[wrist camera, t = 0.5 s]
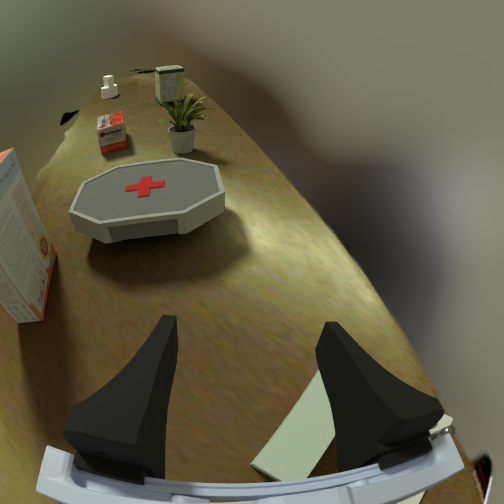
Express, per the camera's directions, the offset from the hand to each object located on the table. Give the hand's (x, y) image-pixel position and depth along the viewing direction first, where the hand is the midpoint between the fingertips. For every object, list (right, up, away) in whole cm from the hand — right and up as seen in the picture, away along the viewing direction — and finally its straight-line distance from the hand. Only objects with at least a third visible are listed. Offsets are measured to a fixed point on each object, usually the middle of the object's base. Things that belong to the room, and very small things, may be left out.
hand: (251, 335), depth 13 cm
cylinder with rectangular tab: (-76, +87, +107) cm, 157 cm away
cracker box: (-34, -2, +22) cm, 41 cm away
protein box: (-36, +69, +94) cm, 122 cm away
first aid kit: (-18, +9, +35) cm, 40 cm away
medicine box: (-41, +36, +60) cm, 81 cm away
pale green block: (+6, -15, +13) cm, 20 cm away
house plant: (-18, +29, +55) cm, 65 cm away
